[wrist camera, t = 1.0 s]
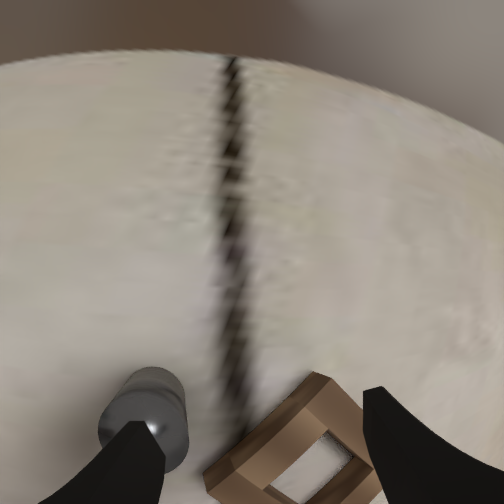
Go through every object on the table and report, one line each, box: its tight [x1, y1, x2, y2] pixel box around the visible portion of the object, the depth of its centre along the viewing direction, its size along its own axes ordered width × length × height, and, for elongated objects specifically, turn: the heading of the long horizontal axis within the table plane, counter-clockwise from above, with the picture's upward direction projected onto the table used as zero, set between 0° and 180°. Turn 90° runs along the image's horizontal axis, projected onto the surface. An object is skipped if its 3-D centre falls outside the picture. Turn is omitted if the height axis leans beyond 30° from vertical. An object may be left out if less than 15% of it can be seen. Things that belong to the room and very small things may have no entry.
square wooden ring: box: [203, 371, 383, 504], centre depth 18 cm, size 11×11×3 cm
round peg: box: [98, 367, 189, 474], centre depth 15 cm, size 4×4×8 cm
